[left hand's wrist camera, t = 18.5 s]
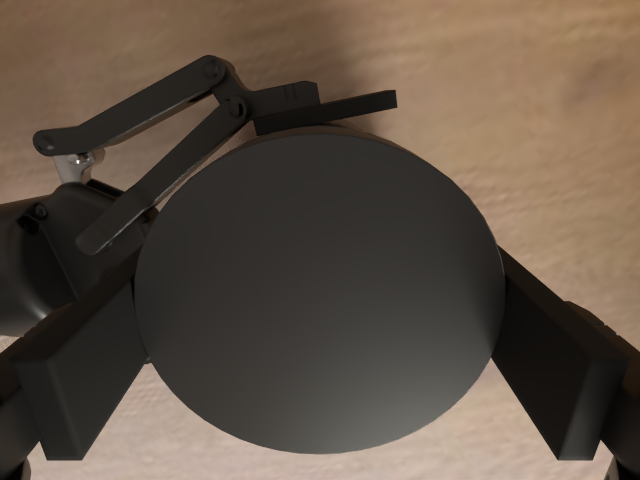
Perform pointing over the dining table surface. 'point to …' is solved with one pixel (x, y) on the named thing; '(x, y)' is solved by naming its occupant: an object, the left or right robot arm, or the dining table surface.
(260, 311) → the lid
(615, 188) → the dining table surface
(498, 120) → the dining table surface
